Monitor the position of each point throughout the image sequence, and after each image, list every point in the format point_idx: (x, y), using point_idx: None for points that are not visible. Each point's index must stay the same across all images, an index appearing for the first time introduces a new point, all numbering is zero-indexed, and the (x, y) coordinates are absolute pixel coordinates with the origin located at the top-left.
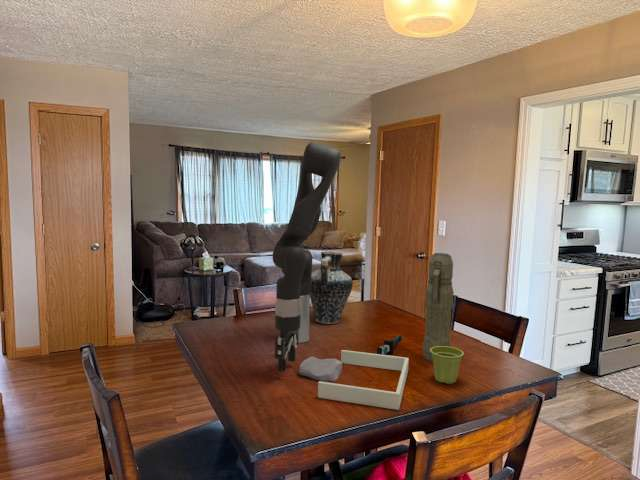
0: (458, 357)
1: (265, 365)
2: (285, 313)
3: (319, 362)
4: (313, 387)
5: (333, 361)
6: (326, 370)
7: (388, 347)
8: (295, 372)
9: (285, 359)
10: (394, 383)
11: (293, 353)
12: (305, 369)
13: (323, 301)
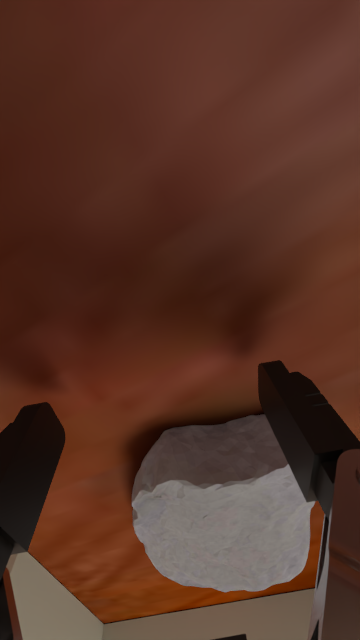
0: None
1: (191, 142)
2: None
3: (245, 534)
4: (70, 513)
5: (252, 585)
6: (170, 565)
7: None
8: (176, 405)
9: (7, 553)
10: (237, 594)
11: (288, 453)
12: (137, 511)
13: None
